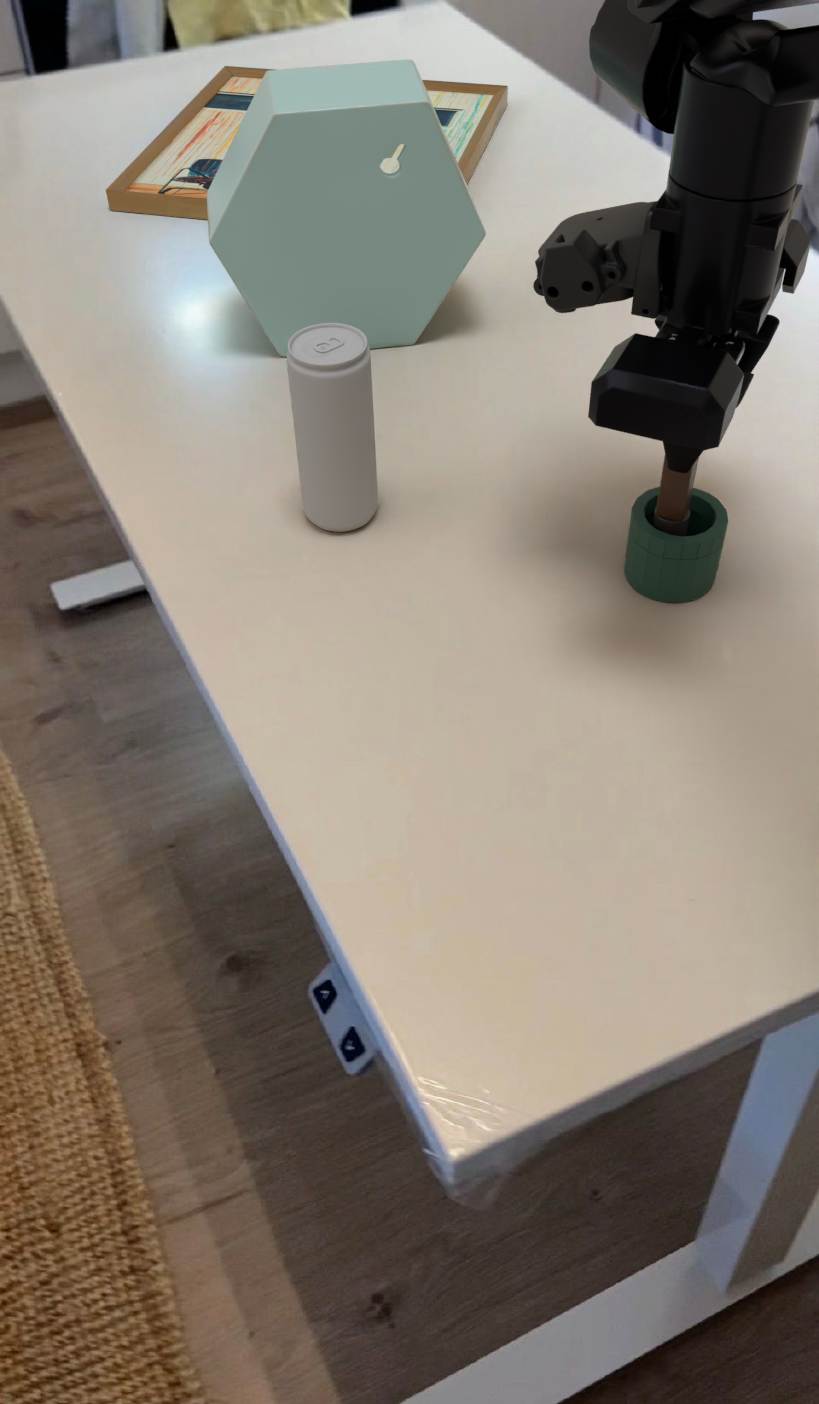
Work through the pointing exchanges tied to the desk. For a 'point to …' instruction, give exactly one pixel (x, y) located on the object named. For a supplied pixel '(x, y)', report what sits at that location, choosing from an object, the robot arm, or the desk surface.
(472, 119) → the picture frame
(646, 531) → the green round lever base
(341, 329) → the beverage can
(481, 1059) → the desk surface
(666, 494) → the brown lever handle
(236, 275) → the mint green hexagonal prism
